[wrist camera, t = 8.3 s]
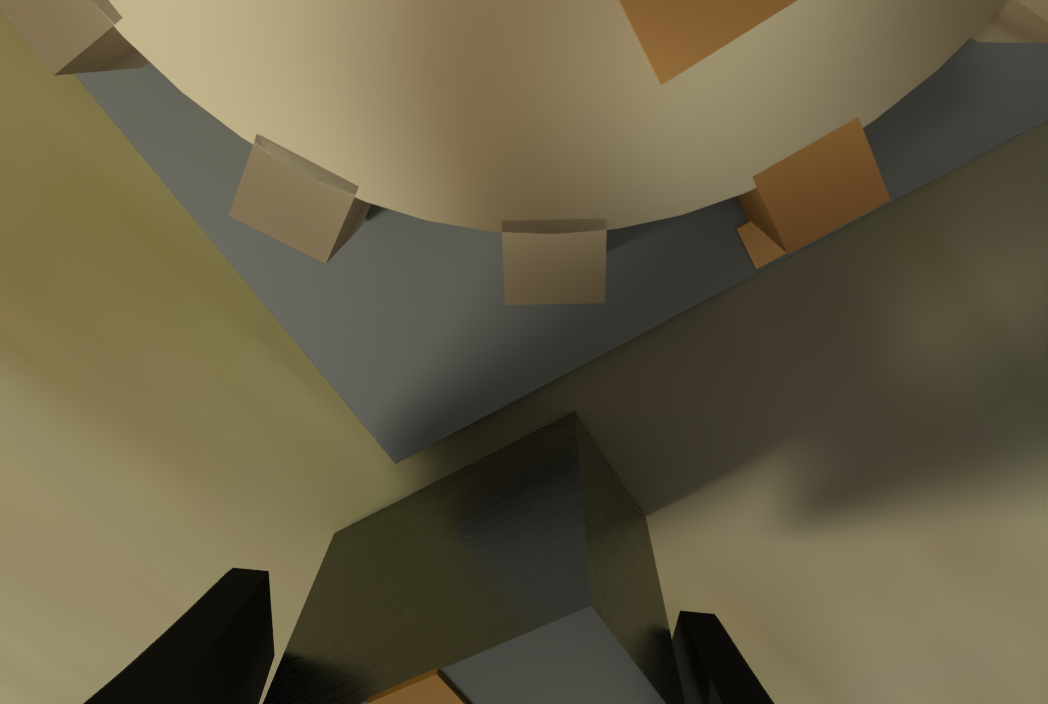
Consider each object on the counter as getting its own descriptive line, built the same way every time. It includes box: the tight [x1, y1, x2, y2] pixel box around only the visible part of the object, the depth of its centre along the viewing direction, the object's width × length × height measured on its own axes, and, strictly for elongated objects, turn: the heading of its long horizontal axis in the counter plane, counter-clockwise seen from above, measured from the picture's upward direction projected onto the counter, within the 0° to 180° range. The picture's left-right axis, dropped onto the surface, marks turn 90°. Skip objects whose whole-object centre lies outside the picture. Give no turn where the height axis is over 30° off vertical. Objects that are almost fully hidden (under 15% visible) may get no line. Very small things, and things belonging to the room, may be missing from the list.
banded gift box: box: [263, 411, 685, 704], centre depth 12 cm, size 3×6×5 cm, turn 122°
